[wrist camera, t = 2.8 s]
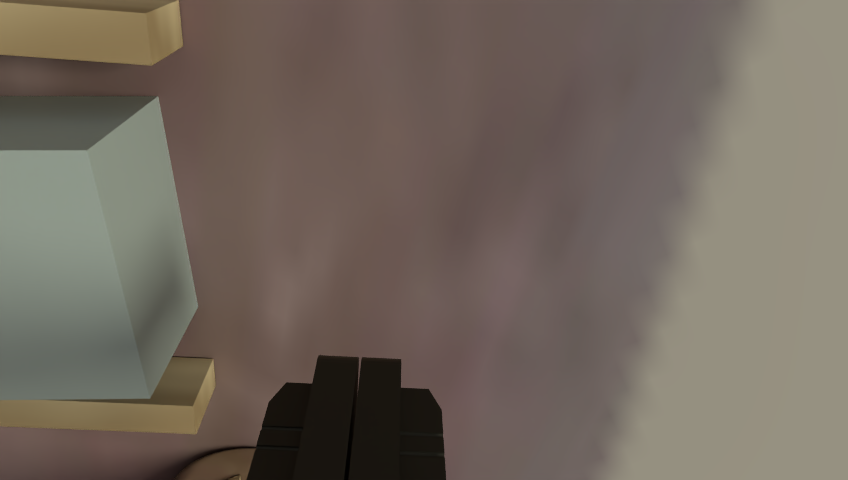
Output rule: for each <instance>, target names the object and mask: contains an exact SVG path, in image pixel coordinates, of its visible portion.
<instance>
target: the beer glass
mask: <svg viewBox="0 0 848 480" xmlns="http://www.w3.org/2000/svg"><path fill="white" fill-rule="evenodd" d="M255 450H256V448H240V449H231V450H225V451H220V452H216V453H213V454H210V455H207V456H204V457H202V458H200V459H198V460H196V461H194V462H192V463H191V464H189V465H188V466H187V467H185V468H184V469H183V470H182V471H181V472H180V473H179V474H178V475H177V476H176V478H175V479H174V480H247V476H248V473H249V469H250V466H251V462H252V459H253V455H254V452H255Z"/></svg>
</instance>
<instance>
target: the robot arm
mask: <svg viewBox="0 0 848 480" xmlns="http://www.w3.org/2000/svg"><path fill="white" fill-rule="evenodd" d="M358 369H359V357H343V356H323V355H319V356H318V359H317V364H316V369H315V373H314V378H313V383H312V384H307V383H286V384H285V385H284V386H283V387H282V388H281V389H280V390H279V391H278V393H277V394H276V395H275V396H274V397H273V398H272V399H271V400H270V401H269V403H268V407H267V410H266V414H265V417H264V421H263V424H262V430H261V431H260V435H259V438H258V441H257V447H256V450H255V452H254V455H253V459H252V462H251V466H250V469H249V473H248V476H247V480H446V471H445V458H444V440H443V425H442V410H441V408H440V407H439V405H438V403H437V402H436V400H435V399H434V397H433V395H432V394H431V392H430V391H429V389H415V388H401V359H386V358H366V357H362V360H361V369H360V378H359V388H358ZM357 394H358V397H357Z"/></svg>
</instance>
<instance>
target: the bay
mask: <svg viewBox="0 0 848 480" xmlns="http://www.w3.org/2000/svg"><path fill="white" fill-rule="evenodd" d="M182 46H183V40H182V29H181V19H180V9H179V0H0V55H13V56H27V57H40V58H54V59H68V60H82V61H96V62H110V63H124V64H138V65H154V64H155V63H157V62H158V61H160V60H162V59H163V58H165V57H166V56H168V55H170V54H171V53H173V52H174V51H176V50H178V49H179V48H181V47H182ZM215 386H216V384H215V373H214V363H213V359H204V358H183V357H172V358H171V360H170V362H169V364H168V365H167V367H166V369H165V371H164V373H163V375H162V377H161V379H160V381H159V383H158V385H157V387H156V388H155V390H154V392H153V394H152V396H151V398H150V399H65V400H0V426H7V427H32V428H57V429H82V430H107V431H132V432H157V433H182V434H196V433H197V431H198V428H199V426H200V423H201V421H202V418H203V416H204V413H205V411H206V408H207V406H208V403H209V401H210V398H211V396H212V393H213V391H214V388H215Z"/></svg>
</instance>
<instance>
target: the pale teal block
mask: <svg viewBox="0 0 848 480" xmlns="http://www.w3.org/2000/svg"><path fill="white" fill-rule="evenodd" d="M197 308H198V304H197V298H196V293H195V288H194V283H193V277H192V272H191V267H190V262H189V256H188V251H187V246H186V241H185V235H184V230H183V225H182V220H181V214H180V209H179V204H178V199H177V193H176V188H175V183H174V177H173V172H172V167H171V162H170V156H169V151H168V146H167V141H166V135H165V130H164V125H163V120H162V114H161V109H160V104H159V99H158V96H0V400H65V399H150V398H151V396H152V394H153V392H154V390H155V388H156V387H157V385H158V383H159V381H160V379H161V377H162V375H163V373H164V371H165V369H166V367H167V365H168V364H169V362H170V360H171V358H172V356H173V354H174V352H175V350H176V348H177V346H178V344H179V342H180V341H181V339H182V337H183V335H184V333H185V331H186V329H187V327H188V325H189V323H190V321H191V319H192V318H193V316H194V314H195V312H196V310H197Z"/></svg>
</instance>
